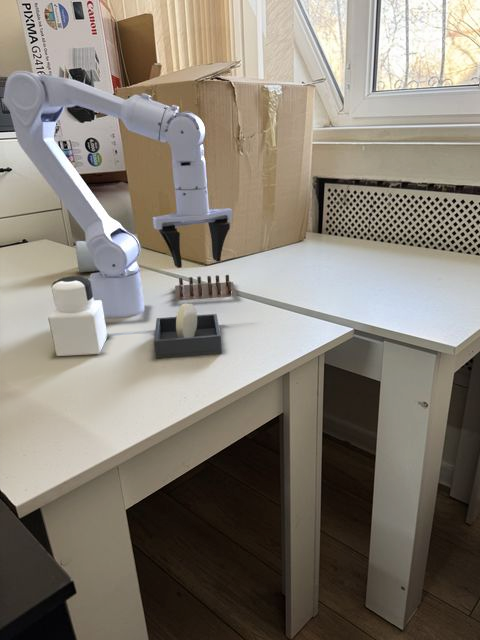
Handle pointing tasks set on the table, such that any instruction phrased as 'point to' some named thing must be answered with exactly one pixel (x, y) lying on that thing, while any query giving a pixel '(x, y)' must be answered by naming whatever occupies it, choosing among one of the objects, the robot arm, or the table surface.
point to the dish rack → (204, 289)
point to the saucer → (186, 321)
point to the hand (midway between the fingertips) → (197, 263)
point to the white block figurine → (76, 318)
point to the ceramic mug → (84, 258)
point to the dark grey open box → (187, 338)
